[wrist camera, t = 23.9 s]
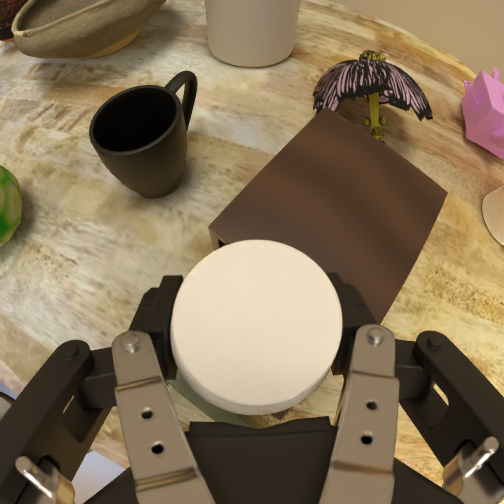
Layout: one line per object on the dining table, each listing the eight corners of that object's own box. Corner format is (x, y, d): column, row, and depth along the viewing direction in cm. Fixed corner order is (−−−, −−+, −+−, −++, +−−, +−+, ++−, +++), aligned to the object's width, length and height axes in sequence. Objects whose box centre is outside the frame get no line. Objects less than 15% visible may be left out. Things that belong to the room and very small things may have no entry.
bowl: (91, 11, 47) (76, -37, 33) (207, 5, 45) (204, -56, 32) (10, 98, 38) (-24, 44, 24) (136, 98, 36) (108, 12, 23)
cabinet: (328, 351, 27) (365, 347, 18) (218, 266, 29) (207, 226, 21) (403, 233, 31) (448, 192, 22) (307, 164, 33) (325, 105, 24)
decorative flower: (425, 47, 29) (451, 85, 20) (418, 123, 38) (432, 187, 29) (313, 36, 33) (289, 68, 25) (319, 111, 42) (299, 170, 33)
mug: (231, 141, 34) (228, 77, 25) (162, 224, 30) (133, 171, 21) (175, 115, 35) (161, 54, 26) (107, 188, 32) (71, 134, 23)
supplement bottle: (246, 414, 15) (251, 481, 6) (178, 339, 16) (100, 308, 7) (322, 345, 16) (411, 321, 7) (253, 273, 17) (263, 174, 8)
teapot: (439, 80, 40) (462, 40, 31) (498, 114, 39) (524, 80, 30) (446, 155, 35) (482, 109, 26) (513, 193, 34) (553, 159, 24)
